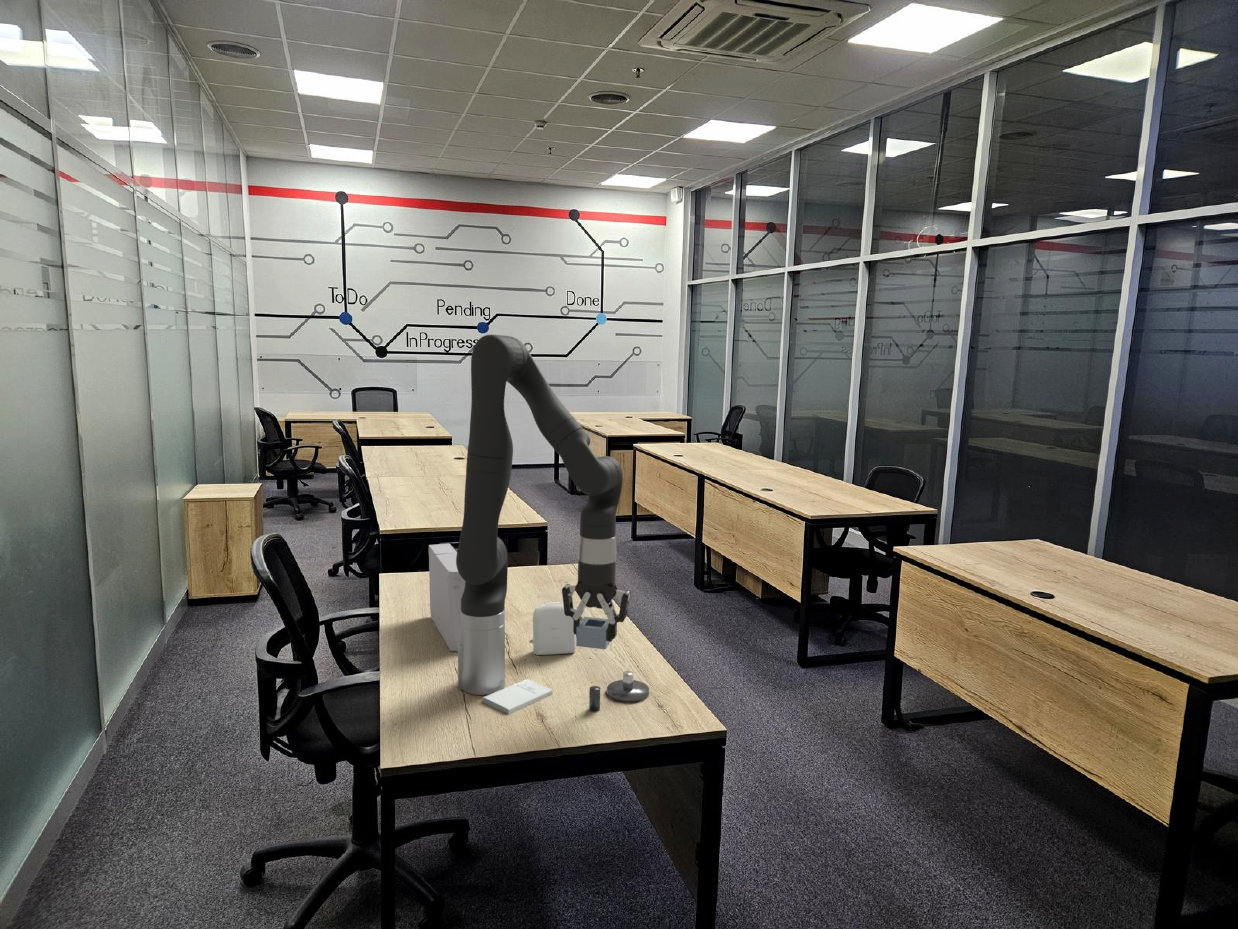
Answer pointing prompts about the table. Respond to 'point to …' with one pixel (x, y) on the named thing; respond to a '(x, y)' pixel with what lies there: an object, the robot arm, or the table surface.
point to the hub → (628, 689)
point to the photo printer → (552, 630)
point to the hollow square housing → (593, 633)
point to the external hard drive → (517, 696)
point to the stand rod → (594, 698)
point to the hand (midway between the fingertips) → (594, 638)
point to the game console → (446, 593)
